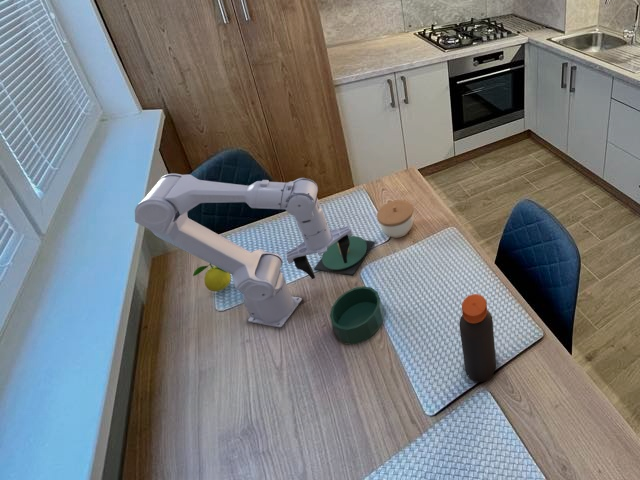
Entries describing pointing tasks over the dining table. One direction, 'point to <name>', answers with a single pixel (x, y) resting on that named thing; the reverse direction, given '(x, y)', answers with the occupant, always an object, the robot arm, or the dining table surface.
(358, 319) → the tin
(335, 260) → the tin lid
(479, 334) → the bottle
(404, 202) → the trinket box
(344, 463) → the dining table surface
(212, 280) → the lemon
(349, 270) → the mat
